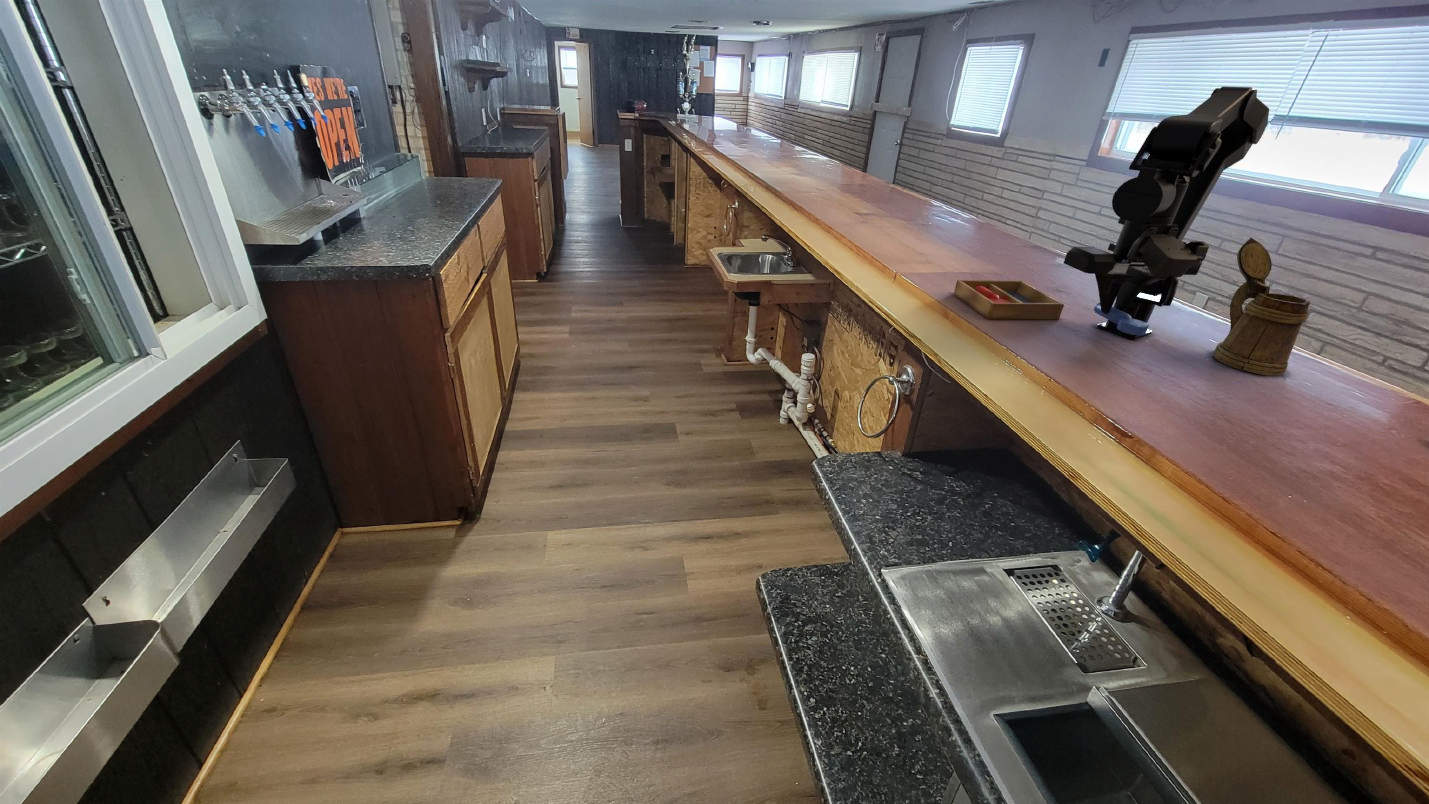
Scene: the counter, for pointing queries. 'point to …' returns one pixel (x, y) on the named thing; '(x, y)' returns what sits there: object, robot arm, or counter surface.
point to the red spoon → (990, 295)
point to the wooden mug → (1260, 319)
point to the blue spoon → (1123, 321)
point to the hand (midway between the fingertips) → (1110, 313)
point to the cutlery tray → (1019, 294)
